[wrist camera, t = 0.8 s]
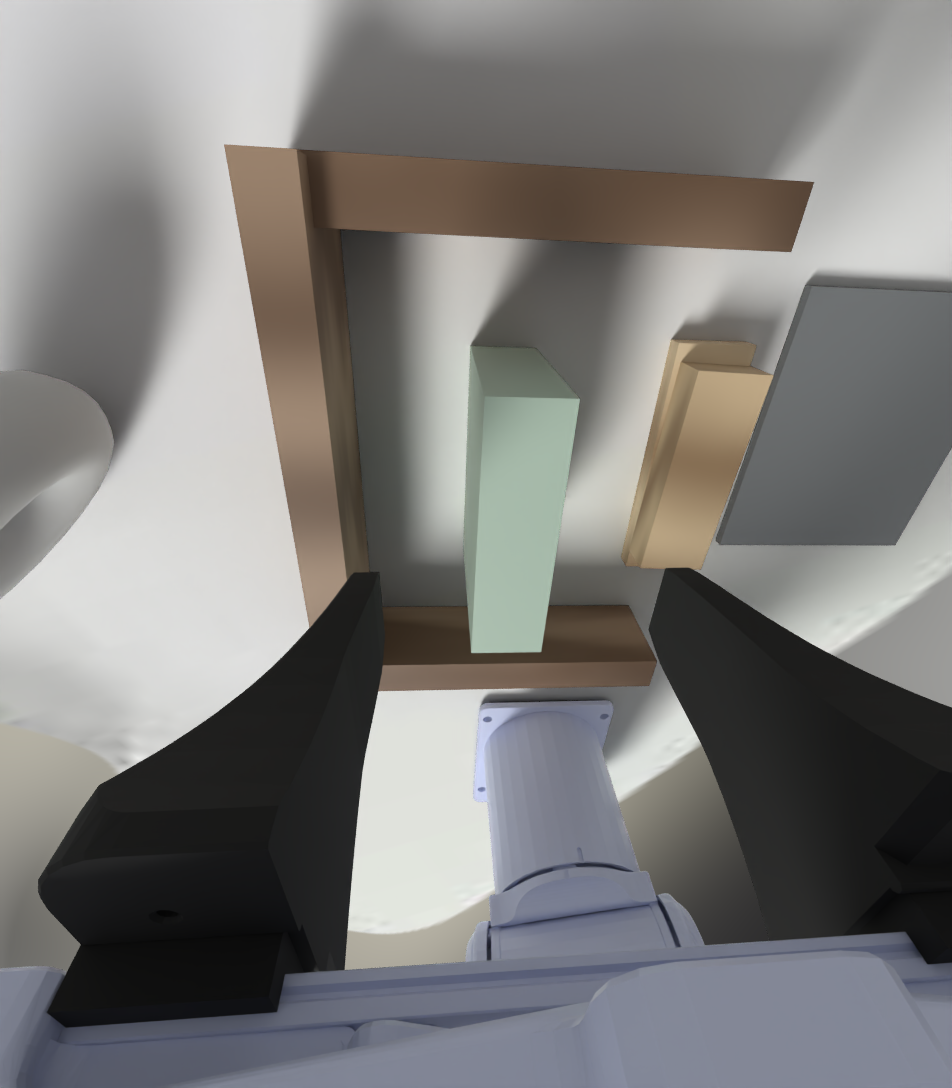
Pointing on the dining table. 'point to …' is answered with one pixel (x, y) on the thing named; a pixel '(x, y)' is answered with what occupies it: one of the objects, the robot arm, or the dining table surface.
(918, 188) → the dining table surface
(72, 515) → the donut
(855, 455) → the mat
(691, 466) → the offcut upper
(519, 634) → the board
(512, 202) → the frame
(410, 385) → the dining table surface
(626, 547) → the offcut lower
